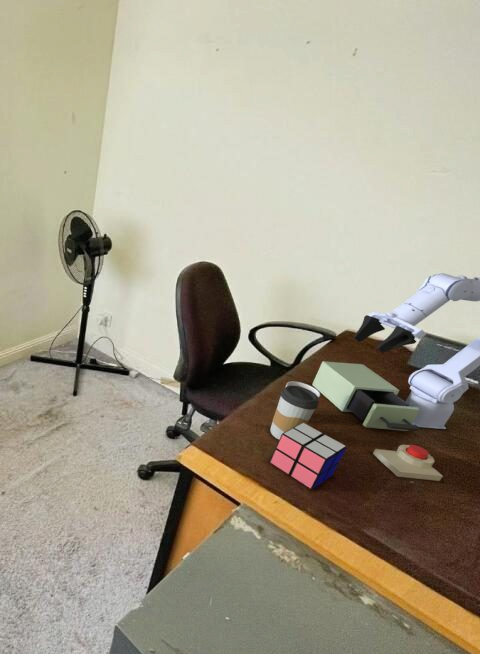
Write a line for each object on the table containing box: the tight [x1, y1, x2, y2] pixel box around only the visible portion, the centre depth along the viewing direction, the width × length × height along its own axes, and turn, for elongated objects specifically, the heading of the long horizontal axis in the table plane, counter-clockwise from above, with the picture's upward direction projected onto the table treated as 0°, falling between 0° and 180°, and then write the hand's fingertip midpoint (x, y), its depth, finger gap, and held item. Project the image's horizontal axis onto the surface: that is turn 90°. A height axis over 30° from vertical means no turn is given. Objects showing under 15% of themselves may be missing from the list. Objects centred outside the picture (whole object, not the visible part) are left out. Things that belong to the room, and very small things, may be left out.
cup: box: [284, 380, 321, 399], centre depth 124 cm, size 8×8×10 cm
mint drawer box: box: [311, 361, 400, 413], centre depth 132 cm, size 15×13×10 cm
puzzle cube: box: [269, 423, 348, 490], centre depth 104 cm, size 10×10×10 cm
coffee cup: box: [269, 385, 320, 440], centre depth 114 cm, size 8×8×15 cm
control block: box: [372, 444, 444, 482], centre depth 107 cm, size 11×9×4 cm
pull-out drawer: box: [347, 389, 420, 432], centre depth 123 cm, size 18×11×8 cm, turn 173°
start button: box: [407, 444, 430, 460], centre depth 107 cm, size 4×4×2 cm
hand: (367, 345), depth 113 cm, fingers open, 7 cm apart
